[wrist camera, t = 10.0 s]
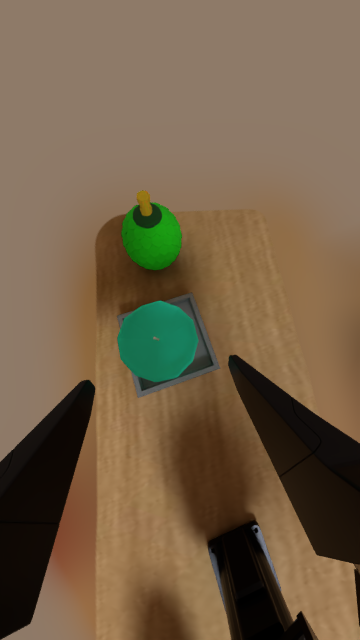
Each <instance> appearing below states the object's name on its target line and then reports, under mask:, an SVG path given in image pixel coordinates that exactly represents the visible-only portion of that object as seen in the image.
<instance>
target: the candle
mask: <svg viewBox="0 0 360 640" xmlns="http://www.w3.org/2000/svg"><path fill="white" fill-rule="evenodd" d="M117 340H118V346H119V352H120V358H121V360H122V361H123V362H124V364H125V365H126V366H127V367H128V368H129V369H130V370H131V371H132V372H133V373H134V375H135V376H138V377H141V378H144V379H147V380H150V381H153V382H160V381H164V380H169V379H173V378H177V377H178V376H179V375H180V374H181V373H182V372H183V371H184V370H185V369H186V368H187V367H188V366H189V365H190V364H191V363H192V362H193V359H194V355H195V351H196V348H197V344H198V341H199V340H198V336H197V333H196V329H195V325H194V322H193V320H192V319H191V318H190V317H189V316H188V315H187V314H186V313H185V312H184V311H183V310H181V309H180V308H179V307H177V306H174V305H171V304H168V303H166V302H163V301H156V302H153V303H149V304H146V305H142V306H140V307H139V308H137V309H136V310H135V311H133V312H132V313H131V314H129V315H128V316H127V317H125V318H124V320H123V323H122V326H121V329H120V332H119V335H118V337H117Z"/></svg>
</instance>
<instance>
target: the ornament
mask: <svg viewBox="0 0 360 640" xmlns="http://www.w3.org/2000/svg"><path fill="white" fill-rule="evenodd" d="M137 201H138V203H139V205H136V206H134V207H133V208H132V209H131V210H130V211H129V212H128V213H127V214H126V218H125V219H124V221H123V223H122V226H123V228H122V232H121V236H122V237H123V245H124V247H125V248H126V251H127V253H128V255H129V256H130V257H131V259H132V260H133V261H134V262H136V263H137V264H138V265H139V266H141V267H144V268H145V269H148V270H149V269H151V270H160V269H163V268H165V267H168V266H170V265H171V263H172V262H174V261H175V259H176V257H177V256H178V255H179V252H180V248H181V238H182V234H181V230H180V225H179V223H178V221H177V220H176V217H175V216H174V215H173V214H172V213H171V212H170V211H169V209H168V208H166V207H164V206H162V205H160V204H158V203H151V202H150V195H149V194H148V192H147V191H143V190H142V191H140V192H138V193H137Z"/></svg>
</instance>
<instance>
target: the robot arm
mask: <svg viewBox="0 0 360 640" xmlns="http://www.w3.org/2000/svg"><path fill="white" fill-rule="evenodd" d="M228 366H229V369H230V372H231V375H232V377H233V380H234V383H235V386H236V388H237V391H238V393H239V395H240V397H241V399H242V401H243V403H244V405H245V408H246V410H247V412H248V414H249V416H250V418H251V420H252V422H253V424H254V426H255V428H256V430H257V432H258V435H259V437H260V439H261V441H262V443H263V445H264V447H265V449H266V451H267V453H268V455H269V457H270V459H271V462H272V464H273V466H274V468H275V470H276V472H277V474H278V476H279V478H280V480H281V482H282V485H283V487H284V489H285V491H286V493H287V495H288V497H289V499H290V501H291V503H292V505H293V507H294V509H295V512H296V514H297V516H298V518H299V520H300V522H301V524H302V526H303V528H304V530H305V532H306V534H307V536H308V539H309V541H310V543H311V545H312V547H313V549H314V551H315V553H316V554H317V555H319V556H323V557H328V558H332V559H336V560H341V561H345V562H349V563H353V564H354V566H355V567H356V569H354V573H355V584H356V595H357V606H358V617H359V626H360V443H358V442H357V441H355V440H354V439H352V438H351V437H349V436H348V435H346V434H344V433H343V432H342V431H340V430H339V429H337V428H335V427H334V426H332V425H331V424H330V423H328V422H326V421H325V420H323V419H322V418H320V417H319V416H318V415H316V414H315V413H313V412H312V411H310V410H309V409H308V408H306V407H305V406H303V405H302V404H301V403H299V402H298V401H297V400H295V399H294V398H293V397H291V396H290V395H289V394H287V393H286V392H285V391H283V390H282V389H281V388H279V387H278V386H277V385H275V384H274V383H273V382H272V381H270V380H269V379H268V378H266V377H265V376H264V375H262V374H261V373H260V372H258V371H257V370H256V369H254V368H253V367H252V366H250V365H249V364H248V363H246V362H245V361H244V360H242V359H241V358H240V357H238V356H237V355H230V356H229V362H228ZM94 395H95V386H94V385H93V384H92V383H91V381H90V380H84V381H81V382H80V383H79V384H78V385H77V386H76V387H75V388H74V389H73V390H72V391H71V392H70V393H69V394H68V395H67V396H66V397H65V398H64V399H63V400H62V401H61V402H60V403H59V404H58V405H57V406H56V407H55V408H54V409H53V410H52V411H51V412H50V413H49V414H48V415H47V416H46V417H45V418H44V419H43V420H42V421H41V422H40V423H39V424H38V425H37V426H36V427H35V428H34V429H33V430H32V431H31V432H30V433H29V434H28V435H27V436H26V437H25V438H24V439H23V440H22V441H21V442H20V443H19V444H18V445H17V446H16V447H15V448H14V449H13V450H12V451H11V452H10V453H9V454H8V455H7V456H6V457H5V458H4V459H3V460H2V461H1V462H0V640H1V639H3V638H5V637H6V636H8V635H10V634H12V633H14V632H16V631H18V630H20V629H21V628H23V627H25V626H27V625H29V624H30V623H31V620H32V618H33V614H34V611H35V608H36V604H37V601H38V597H39V594H40V591H41V587H42V583H43V580H44V576H45V573H46V570H47V566H48V563H49V559H50V556H51V552H52V549H53V545H54V542H55V538H56V535H57V531H58V528H59V523H60V520H61V517H62V514H63V510H64V506H65V503H66V499H67V496H68V493H69V489H70V485H71V482H72V479H73V475H74V472H75V468H76V464H77V461H78V458H79V454H80V451H81V447H82V444H83V440H84V437H85V434H86V430H87V427H88V423H89V420H90V416H91V411H92V405H93V400H94ZM255 528H256V529H255ZM211 548H213V549H211ZM208 551H209V555H210V559H211V562H212V566H213V569H214V572H215V576H216V579H217V583H218V586H219V590H220V593H221V597H222V600H223V604H224V607H225V610H226V614H227V619H228V624H229V630H230V635H231V640H318V638H317V637H316V635H315V633H314V632H313V630H312V628H311V626H310V625H309V623H308V621H307V620H306V618H305V616H304V614H303V613H302V611H300V612H299V613H298V615H297V619H296V620H295V621H294V622H293V619H292V617H291V614H290V612H289V610H288V607H287V605H286V603H285V600H284V598H283V596H282V593H281V587H280V584H279V581H278V578H277V575H276V573H275V570H274V567H273V564H272V561H271V558H270V555H269V553H268V550H267V547H266V544H265V541H264V538H263V535H262V533H261V530H260V527H259V525H258V523H257V522H256V521H253V522H250V523H248V524H246V525H244V526H242V527H239V528H237V529H235V530H233V531H231V532H228V533H226V534H224V535H222V536H220V537H217V538H215V539H213V540H211V541H209V543H208Z"/></svg>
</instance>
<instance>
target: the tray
mask: <svg viewBox="0 0 360 640" xmlns="http://www.w3.org/2000/svg"><path fill="white" fill-rule="evenodd" d="M163 302H166V303H168V304H171V305H174V306H177V307H179V308H180V309H181V310H183V311H184V312H185V313H186V314H187V315H188V316H189V317H190V318H191V319H192V320H193V322H194V325H195V329H196V333H197V336H198V340H199V341H198V344H197V348H196V351H195V355H194V359H193V362H192V363H191V364H190V365H189V366H188V367H187V368H186V369H185V370H184V371H183V372H182V373H181V374H180V375H179V376H178V377H177V378H173V379H169V380H164V381H160V382H153V381H150V380H147V379H144V378H141V377H138V376H135V375H134V373H133V372H132V371H131V372H132V376H133V380H134V384H135V388H136V392H137V396H138V398H139V397H142V396H145V395H148V394H150V393H153V392H156V391H159V390H161V389H164V388H167V387H170V386H173V385H175V384H178V383H181V382H184V381H186V380H189V379H192V378H195V377H197V376H200V375H203V374H206V373H209V372H211V371H214V370H217V369H220V367H219V364H218V361H217V358H216V356H215V353H214V350H213V348H212V345H211V342H210V340H209V337H208V334H207V331H206V329H205V326H204V323H203V321H202V318H201V315H200V313H199V310H198V307H197V304H196V302H195V299H194V296H193V294H192V293H189V294H185V295H182V296H179V297H176V298H173V299H169V300H166V301H163ZM134 311H135V310H134ZM132 312H133V311H131V312H128V313H124V314H121V315H118V316H117V318H118V322H119V326H120V329H121V326H122V323H123V320H124V318H125V317H127V316H128V315H129V314H131V313H132Z"/></svg>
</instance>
